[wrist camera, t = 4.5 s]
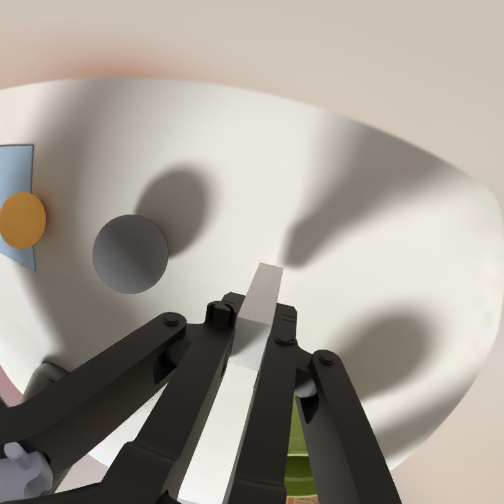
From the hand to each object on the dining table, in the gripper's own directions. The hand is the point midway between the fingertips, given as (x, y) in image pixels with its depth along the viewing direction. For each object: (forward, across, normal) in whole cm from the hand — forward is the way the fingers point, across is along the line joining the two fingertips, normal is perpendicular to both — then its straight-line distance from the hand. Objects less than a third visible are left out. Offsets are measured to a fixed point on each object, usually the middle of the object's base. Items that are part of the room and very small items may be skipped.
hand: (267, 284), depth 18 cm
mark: (+2, +33, 0) cm, 33 cm away
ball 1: (-1, +24, 0) cm, 24 cm away
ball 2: (-1, +10, 0) cm, 10 cm away
